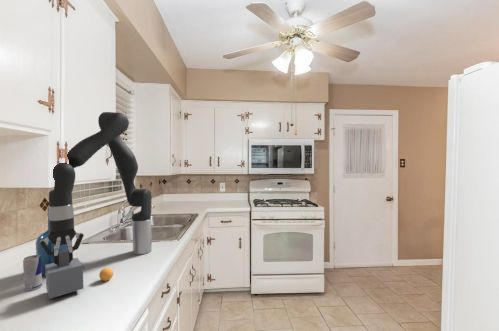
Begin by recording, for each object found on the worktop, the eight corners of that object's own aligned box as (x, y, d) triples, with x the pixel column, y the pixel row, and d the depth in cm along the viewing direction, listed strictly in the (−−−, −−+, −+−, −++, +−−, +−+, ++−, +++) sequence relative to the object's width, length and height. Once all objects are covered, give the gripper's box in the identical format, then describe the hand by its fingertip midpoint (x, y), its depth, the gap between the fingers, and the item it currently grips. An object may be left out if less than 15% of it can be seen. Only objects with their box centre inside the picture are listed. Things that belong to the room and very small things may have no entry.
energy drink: (45, 284, 106) (44, 254, 106) (35, 291, 101) (33, 259, 100) (31, 284, 106) (30, 254, 106) (20, 291, 101) (19, 260, 100)
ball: (110, 276, 112) (97, 279, 109) (111, 264, 112) (98, 267, 109) (114, 280, 109) (101, 284, 105) (115, 268, 109) (101, 271, 105)
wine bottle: (44, 266, 124) (41, 202, 123) (77, 262, 128) (74, 200, 127) (30, 279, 111) (27, 207, 110) (67, 274, 115) (64, 205, 114)
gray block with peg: (46, 288, 100) (44, 251, 99) (78, 279, 106) (76, 245, 106) (49, 298, 92) (47, 259, 91) (83, 288, 99) (81, 251, 98)
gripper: (81, 212, 106) (83, 255, 106) (36, 218, 96) (38, 265, 97) (85, 215, 100) (87, 261, 101) (38, 222, 91) (40, 272, 91)
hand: (63, 263), depth 99 cm, fingers closed on gray block with peg, 3 cm apart
